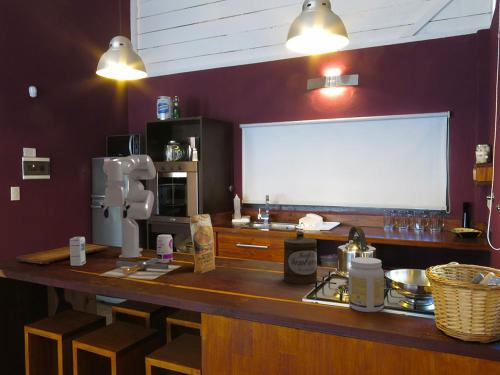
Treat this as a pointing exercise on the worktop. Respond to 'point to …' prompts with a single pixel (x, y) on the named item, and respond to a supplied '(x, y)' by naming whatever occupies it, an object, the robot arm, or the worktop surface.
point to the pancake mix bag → (202, 243)
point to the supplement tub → (366, 284)
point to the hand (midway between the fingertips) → (115, 217)
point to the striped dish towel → (140, 273)
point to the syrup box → (77, 251)
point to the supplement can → (164, 248)
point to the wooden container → (300, 259)
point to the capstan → (141, 265)
